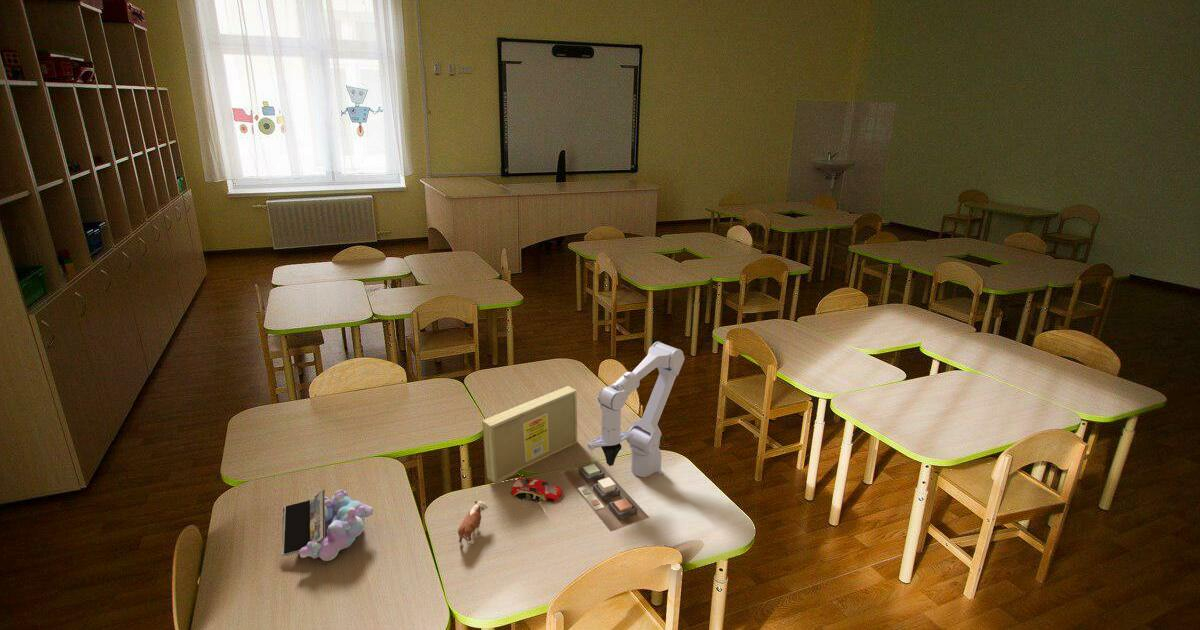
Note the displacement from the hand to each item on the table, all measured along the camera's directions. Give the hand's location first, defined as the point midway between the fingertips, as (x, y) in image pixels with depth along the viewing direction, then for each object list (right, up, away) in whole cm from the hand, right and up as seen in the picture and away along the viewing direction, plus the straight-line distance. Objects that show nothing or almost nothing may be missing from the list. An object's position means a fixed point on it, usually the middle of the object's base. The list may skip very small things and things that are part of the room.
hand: (610, 464), depth 195 cm
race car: (-22, -11, +2) cm, 25 cm away
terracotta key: (+4, -12, -6) cm, 14 cm away
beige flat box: (-25, -4, +20) cm, 32 cm away
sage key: (-6, -6, +10) cm, 13 cm away
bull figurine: (-39, -17, -15) cm, 45 cm away
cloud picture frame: (-78, -18, -18) cm, 82 cm away
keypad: (-2, -10, +2) cm, 11 cm away
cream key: (-1, -8, +1) cm, 8 cm away
